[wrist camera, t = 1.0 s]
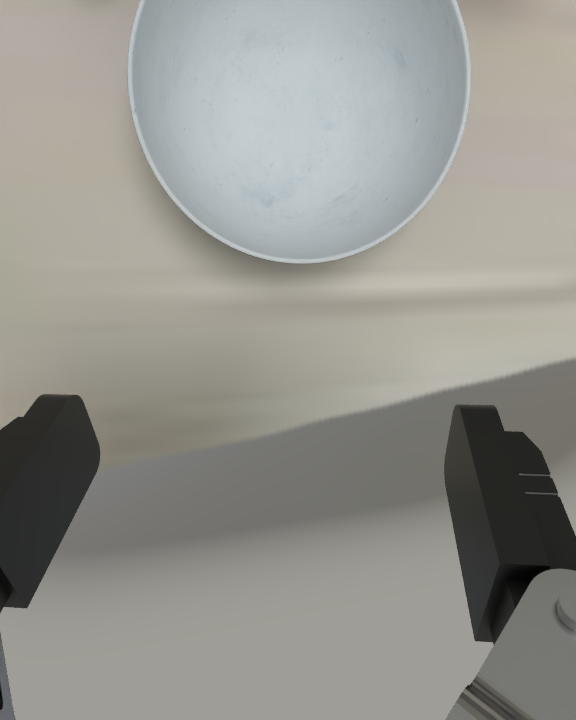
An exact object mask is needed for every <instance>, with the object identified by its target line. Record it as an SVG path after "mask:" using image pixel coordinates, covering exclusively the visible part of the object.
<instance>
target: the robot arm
mask: <svg viewBox="0 0 576 720" xmlns="http://www.w3.org/2000/svg"><path fill="white" fill-rule="evenodd" d="M99 461H100V447H99V443H98V440H97V437H96V435H95V432H94V429H93V426H92V424H91V421H90V418H89V416H88V413H87V410H86V407H85V405H84V402H83V400H82V399H81V397H80V396H78V395H54V394H44V395H41V396H39V397H38V398H37V399H36V401H35V402H34V403H33V405H32V406H31V407H30V409H29V410H28V411H27V413H26V414H25V416H24V417H17V418H16V419H14V420H13V421H12V422H10V423H9V424H8V425H6V426H5V427H4V428H2V429H1V430H0V612H1V611H2V609H3V607H15V608H27V607H28V605H29V603H30V601H31V600H32V597H33V596H34V593H35V592H36V590H37V588H38V586H39V584H40V582H41V580H42V578H43V576H44V574H45V572H46V570H47V568H48V566H49V564H50V562H51V560H52V558H53V556H54V554H55V553H56V551H57V549H58V547H59V545H60V543H61V541H62V539H63V537H64V535H65V533H66V531H67V529H68V527H69V525H70V523H71V521H72V519H73V517H74V515H75V513H76V511H77V509H78V507H79V505H80V503H81V501H82V500H83V498H84V496H85V494H86V492H87V490H88V488H89V486H90V484H91V482H92V480H93V478H94V476H95V474H96V472H97V469H98V466H99ZM444 473H445V486H446V491H447V496H448V502H449V507H450V512H451V517H452V522H453V528H454V533H455V538H456V544H457V549H458V555H459V560H460V565H461V570H462V576H463V580H464V586H465V592H466V597H467V601H468V607H469V613H470V618H471V623H472V628H473V633H474V639H475V641H483V642H484V641H485V642H493V643H494V646H493V648H492V650H491V651H490V653H489V655H488V657H487V658H486V660H485V662H484V664H483V665H482V667H481V669H480V671H479V672H478V674H477V675H476V677H475V679H474V680H473V682H472V683H471V684H470V685H468V686H467V687H466V688H465V689H464V691H463V692H462V693H461V695H460V696H459V698H458V700H457V702H456V703H455V705H454V706H453V708H452V710H451V711H450V713H449V715H448V716H447V718H446V720H576V536H575V533H574V531H573V528H572V527H571V524H570V521H569V519H568V516H567V514H566V511H565V509H564V506H563V504H562V501H561V499H560V497H558V491H557V489H556V487H555V484H554V482H553V479H552V478H550V472H549V469H548V467H547V464H546V462H545V459H544V457H543V454H542V452H541V451H540V450H539V448H538V447H537V446H536V445H535V444H534V443H533V442H532V441H531V440H530V439H529V438H528V437H527V436H526V435H525V434H524V433H523V432H507V431H504V428H503V426H502V423H501V420H500V417H499V414H498V411H497V409H496V407H495V406H493V405H456V406H455V407H454V410H453V415H452V421H451V426H450V432H449V438H448V443H447V449H446V455H445V464H444ZM0 720H15V716H14V711H13V706H12V700H11V694H10V688H9V682H8V676H7V670H6V664H5V658H4V652H3V646H2V640H1V634H0Z"/></svg>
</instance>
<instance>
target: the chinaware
mask: <svg viewBox="0 0 576 720" xmlns="http://www.w3.org/2000/svg"><path fill="white" fill-rule="evenodd" d="M127 80H128V93H129V102H130V108H131V113H132V118H133V122H134V126H135V129H136V133H137V136H138V139H139V142H140V145H141V147H142V150H143V152H144V154H145V157H146V159H147V161H148V163H149V165H150V167H151V169H152V171H153V172H154V174H155V176H156V178H157V179H158V181H159V183H160V184H161V186H162V187H163V188H164V190H165V191H166V193H167V194H168V195H169V197H170V198H171V199H172V200H173V202H174V203H175V204H176V205H177V206H178V207H179V208H180V209H181V211H182V212H183V213H184V214H185V215H186V216H187V217H188V218H190V219H191V220H192V221H193V222H194V223H195V224H196V225H198V226H199V227H200V228H201V229H203V230H204V231H205V232H207V233H208V234H209V235H211V236H212V237H214V238H216V239H217V240H219V241H220V242H222V243H224V244H226V245H228V246H230V247H232V248H234V249H236V250H238V251H241V252H243V253H246V254H248V255H251V256H254V257H258V258H261V259H265V260H270V261H275V262H282V263H293V264H311V263H322V262H328V261H333V260H338V259H342V258H345V257H349V256H352V255H355V254H357V253H360V252H362V251H365V250H367V249H369V248H371V247H373V246H375V245H377V244H379V243H380V242H382V241H384V240H386V239H387V238H389V237H390V236H392V235H393V234H394V233H396V232H397V231H398V230H400V229H401V228H402V227H403V226H405V225H406V224H407V223H408V222H409V221H410V220H411V219H412V218H414V217H415V216H416V215H417V214H418V212H419V211H420V210H421V209H422V208H423V207H424V206H425V205H426V204H427V202H428V201H429V200H430V199H431V197H432V196H433V195H434V193H435V192H436V190H437V189H438V187H439V186H440V184H441V183H442V181H443V179H444V178H445V176H446V174H447V172H448V170H449V168H450V166H451V164H452V162H453V160H454V158H455V155H456V153H457V150H458V148H459V145H460V142H461V139H462V136H463V132H464V128H465V124H466V120H467V115H468V109H469V101H470V91H471V64H470V53H469V45H468V40H467V34H466V30H465V26H464V22H463V19H462V15H461V12H460V9H459V6H458V4H457V1H456V0H140V2H139V5H138V8H137V11H136V14H135V18H134V21H133V26H132V30H131V36H130V42H129V49H128V64H127Z"/></svg>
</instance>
